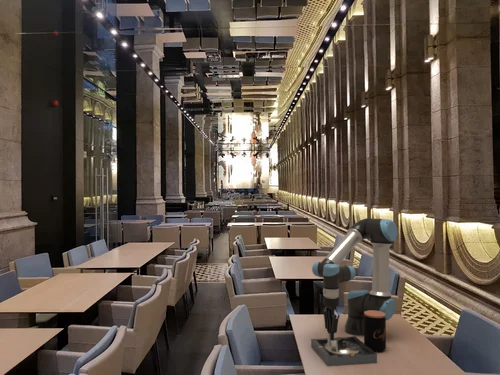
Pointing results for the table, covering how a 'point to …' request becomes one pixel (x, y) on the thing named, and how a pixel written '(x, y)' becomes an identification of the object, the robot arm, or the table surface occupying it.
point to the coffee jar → (375, 330)
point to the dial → (342, 347)
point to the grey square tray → (347, 359)
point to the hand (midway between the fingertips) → (330, 345)
